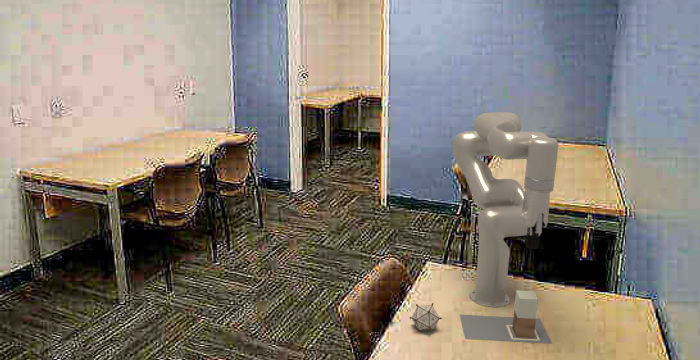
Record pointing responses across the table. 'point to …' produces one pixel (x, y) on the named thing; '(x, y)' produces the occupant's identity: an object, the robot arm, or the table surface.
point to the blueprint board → (499, 329)
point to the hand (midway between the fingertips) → (531, 247)
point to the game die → (425, 317)
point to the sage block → (526, 304)
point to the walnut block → (523, 327)
